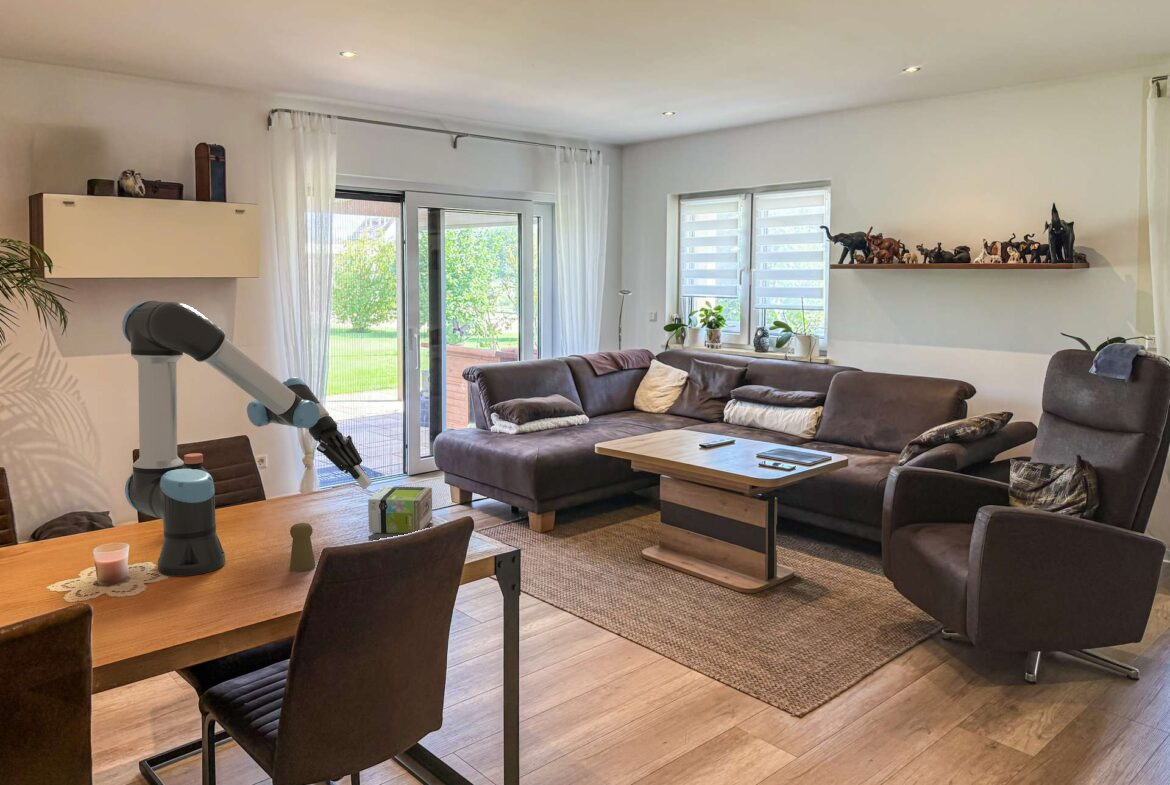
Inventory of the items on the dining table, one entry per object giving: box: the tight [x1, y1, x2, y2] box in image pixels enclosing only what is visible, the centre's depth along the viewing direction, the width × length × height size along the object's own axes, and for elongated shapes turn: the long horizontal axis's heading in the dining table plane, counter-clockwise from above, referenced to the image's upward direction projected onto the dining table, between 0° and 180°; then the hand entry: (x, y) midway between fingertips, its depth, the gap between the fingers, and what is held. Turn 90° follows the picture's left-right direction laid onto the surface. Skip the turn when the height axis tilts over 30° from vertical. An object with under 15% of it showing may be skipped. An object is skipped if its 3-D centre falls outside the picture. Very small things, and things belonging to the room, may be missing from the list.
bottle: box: [183, 452, 208, 473], centre depth 246 cm, size 7×7×20 cm
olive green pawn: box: [289, 522, 316, 573], centre depth 209 cm, size 6×6×11 cm
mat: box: [368, 526, 428, 540], centre depth 237 cm, size 14×10×1 cm
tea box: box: [367, 486, 433, 534], centre depth 242 cm, size 15×10×15 cm
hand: (367, 485), depth 240 cm, fingers closed
